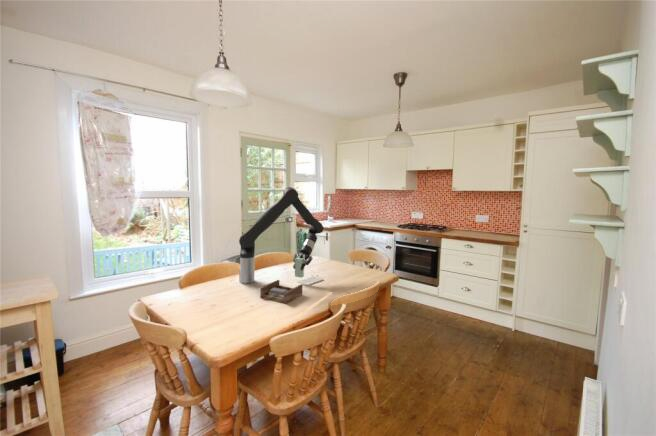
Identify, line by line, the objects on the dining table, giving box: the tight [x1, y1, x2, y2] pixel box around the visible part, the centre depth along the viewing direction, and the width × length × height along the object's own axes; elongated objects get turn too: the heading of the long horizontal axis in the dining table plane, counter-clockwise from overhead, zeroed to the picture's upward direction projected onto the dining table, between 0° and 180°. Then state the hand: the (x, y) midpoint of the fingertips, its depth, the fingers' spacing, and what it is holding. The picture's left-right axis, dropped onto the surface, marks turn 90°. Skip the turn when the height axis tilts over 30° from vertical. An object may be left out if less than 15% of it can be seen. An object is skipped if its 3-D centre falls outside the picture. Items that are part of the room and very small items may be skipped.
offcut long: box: [268, 292, 284, 299], centre depth 162 cm, size 12×5×2 cm, turn 62°
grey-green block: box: [294, 258, 305, 278], centre depth 187 cm, size 5×3×12 cm, turn 62°
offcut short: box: [270, 288, 287, 296], centre depth 163 cm, size 9×4×2 cm, turn 68°
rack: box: [259, 279, 303, 305], centre depth 164 cm, size 18×16×7 cm
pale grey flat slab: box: [295, 275, 324, 286], centre depth 191 cm, size 31×3×12 cm
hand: (297, 268), depth 185 cm, fingers closed on grey-green block, 5 cm apart
